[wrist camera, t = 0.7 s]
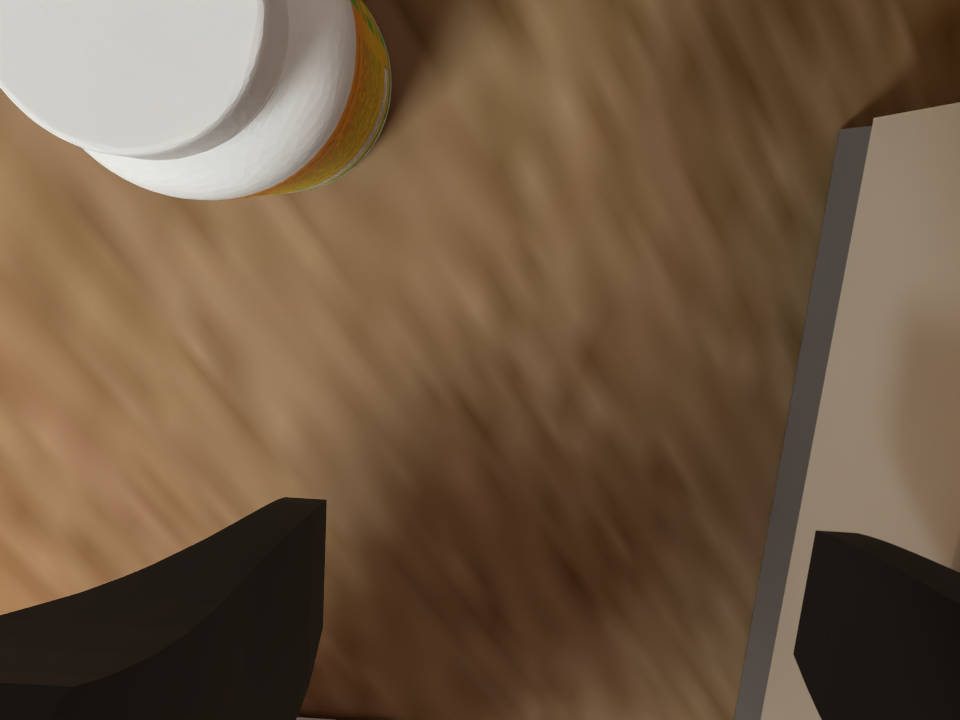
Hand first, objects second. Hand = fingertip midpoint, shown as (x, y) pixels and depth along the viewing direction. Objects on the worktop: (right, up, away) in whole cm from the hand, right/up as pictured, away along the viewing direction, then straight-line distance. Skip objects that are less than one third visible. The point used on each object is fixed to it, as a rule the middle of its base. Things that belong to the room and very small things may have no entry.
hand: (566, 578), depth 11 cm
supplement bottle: (-6, +10, +8) cm, 14 cm away
